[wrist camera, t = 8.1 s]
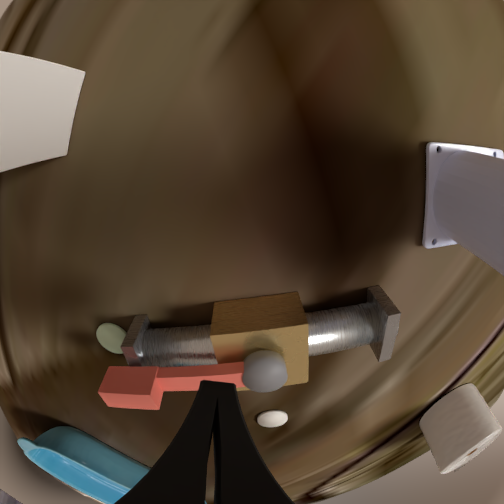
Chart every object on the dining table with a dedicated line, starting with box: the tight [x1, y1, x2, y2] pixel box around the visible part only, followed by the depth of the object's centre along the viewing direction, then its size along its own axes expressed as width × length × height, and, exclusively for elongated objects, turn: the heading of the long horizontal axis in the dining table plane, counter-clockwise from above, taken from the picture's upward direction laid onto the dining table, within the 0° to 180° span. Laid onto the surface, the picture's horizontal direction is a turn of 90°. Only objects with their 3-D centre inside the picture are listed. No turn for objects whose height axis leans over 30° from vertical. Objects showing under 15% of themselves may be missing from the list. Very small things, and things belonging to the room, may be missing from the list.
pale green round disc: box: [96, 323, 127, 354], centre depth 21 cm, size 3×3×1 cm
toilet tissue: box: [419, 383, 502, 474], centre depth 26 cm, size 11×12×10 cm
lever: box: [98, 350, 288, 410], centre depth 16 cm, size 12×3×3 cm, turn 98°
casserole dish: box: [17, 426, 207, 504], centre depth 31 cm, size 37×22×7 cm, turn 39°
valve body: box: [120, 286, 401, 391], centre depth 19 cm, size 20×6×4 cm, turn 97°
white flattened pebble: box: [257, 410, 288, 427], centre depth 26 cm, size 3×3×1 cm
